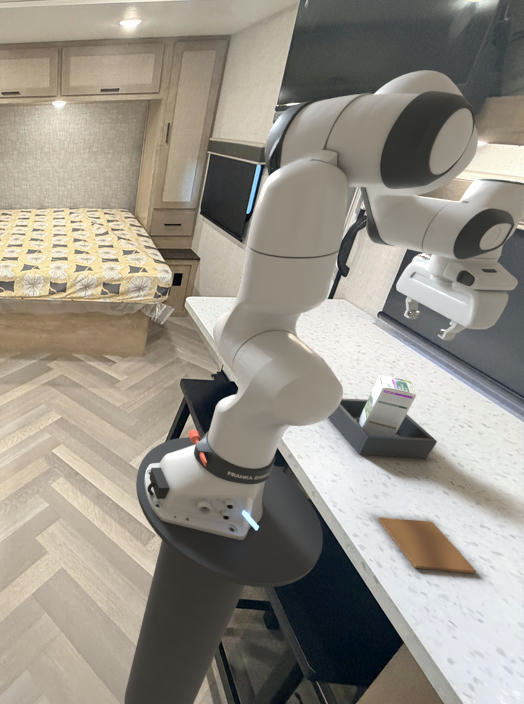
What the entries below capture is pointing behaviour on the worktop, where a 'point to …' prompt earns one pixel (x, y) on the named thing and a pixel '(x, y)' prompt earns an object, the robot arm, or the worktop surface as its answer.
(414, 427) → the bin
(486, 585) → the worktop surface
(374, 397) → the syrup box
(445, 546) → the mat
